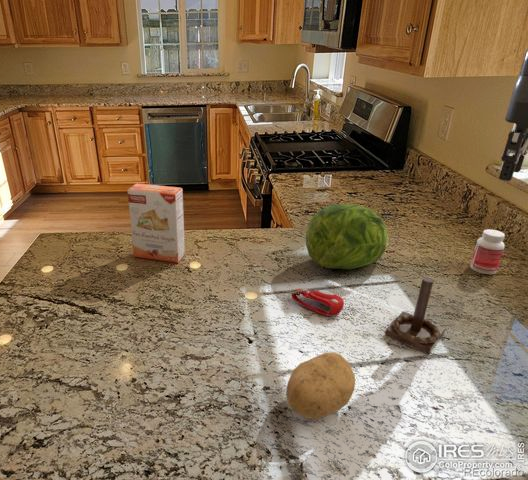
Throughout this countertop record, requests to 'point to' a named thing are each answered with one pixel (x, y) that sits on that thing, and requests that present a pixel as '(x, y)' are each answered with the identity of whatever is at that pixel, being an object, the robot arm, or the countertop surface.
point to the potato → (320, 386)
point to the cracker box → (157, 222)
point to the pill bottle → (488, 252)
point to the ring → (411, 338)
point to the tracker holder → (319, 300)
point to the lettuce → (346, 236)
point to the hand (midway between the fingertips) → (509, 175)
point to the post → (418, 321)
